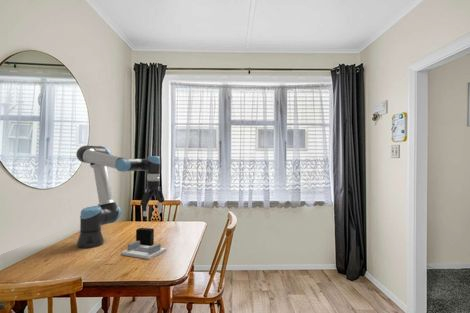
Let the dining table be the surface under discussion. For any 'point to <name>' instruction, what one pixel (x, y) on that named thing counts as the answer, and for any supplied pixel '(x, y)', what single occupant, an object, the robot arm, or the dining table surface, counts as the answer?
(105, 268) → the dining table surface
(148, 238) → the electronic device
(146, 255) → the mounting board
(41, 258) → the dining table surface
